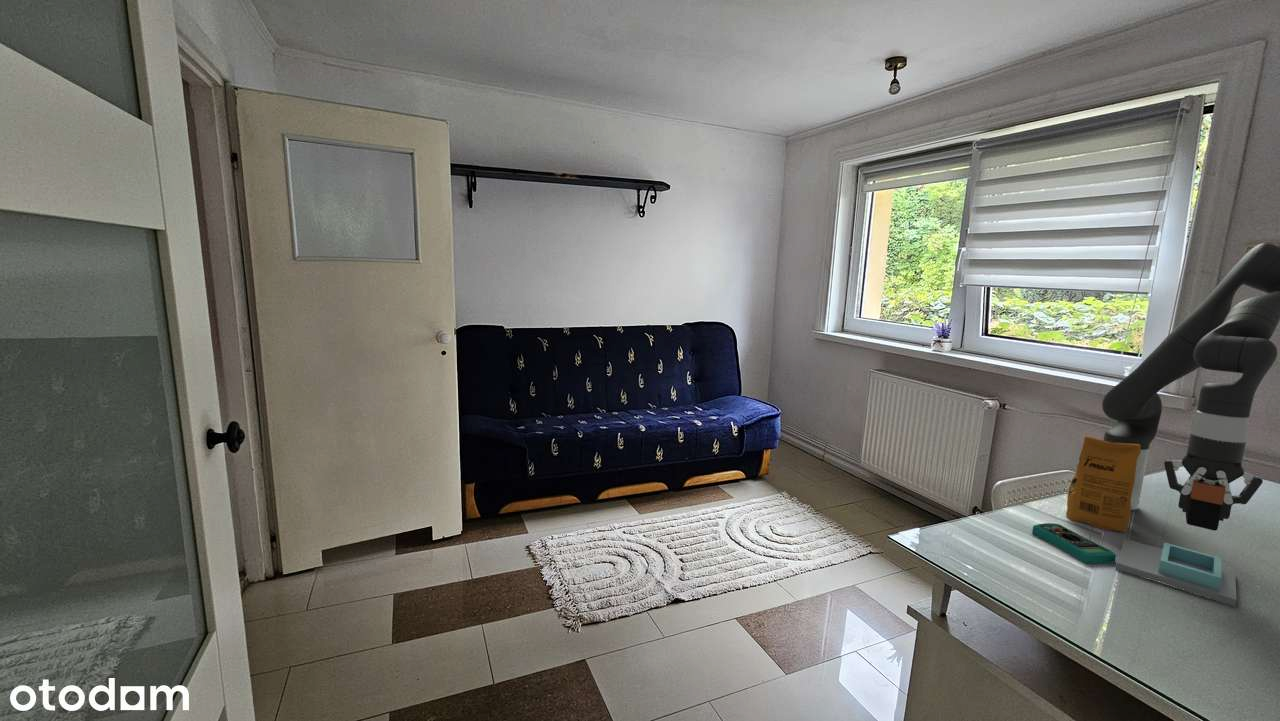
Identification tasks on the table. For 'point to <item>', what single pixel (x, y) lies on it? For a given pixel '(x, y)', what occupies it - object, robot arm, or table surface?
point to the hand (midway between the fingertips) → (1202, 514)
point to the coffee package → (1103, 484)
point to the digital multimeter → (1074, 543)
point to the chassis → (1180, 569)
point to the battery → (1205, 504)
